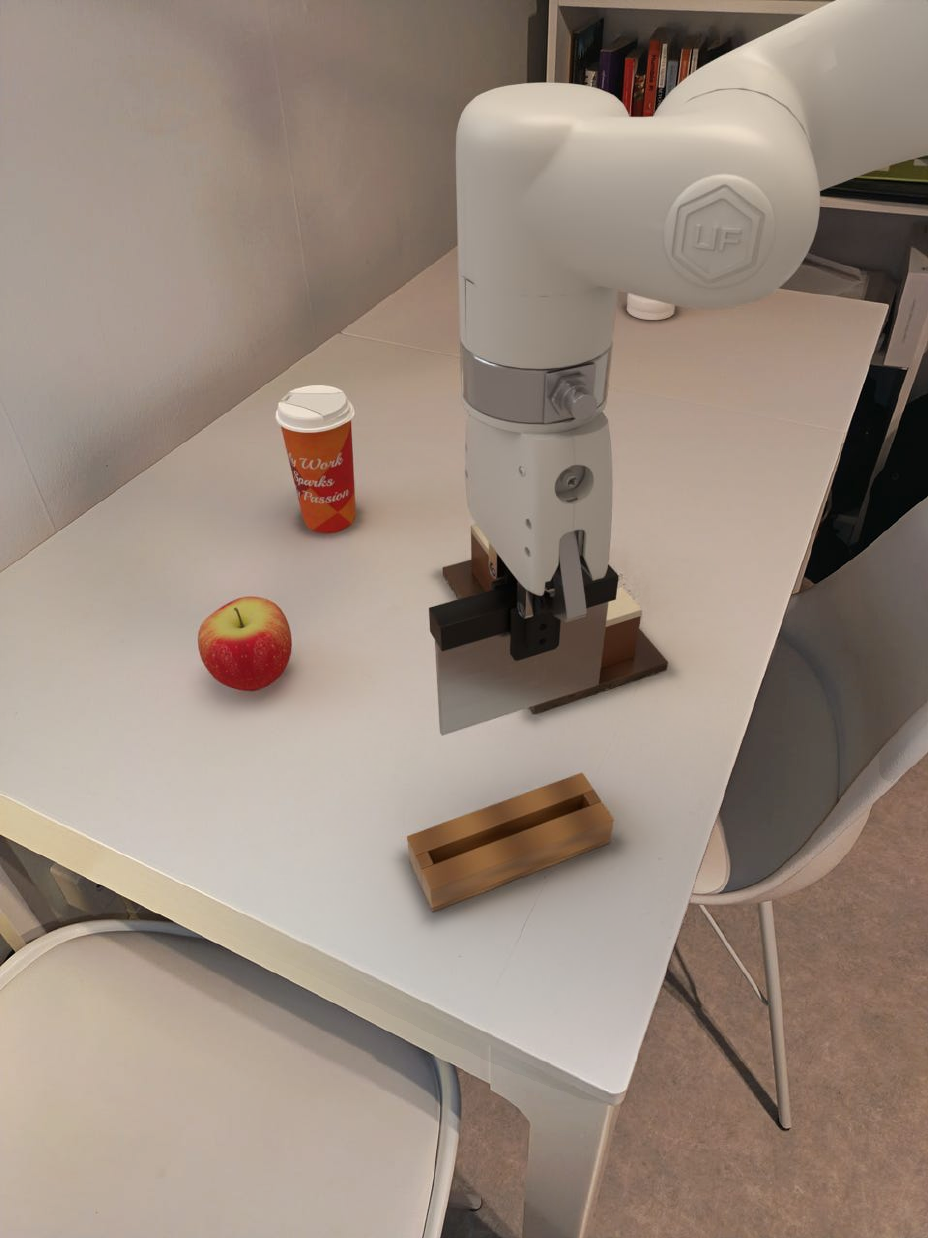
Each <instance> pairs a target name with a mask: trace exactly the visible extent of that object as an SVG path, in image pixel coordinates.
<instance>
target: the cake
mask: <svg viewBox="0 0 928 1238" xmlns="http://www.w3.org/2000/svg"><path fill="white" fill-rule="evenodd" d="M470 554H471V555H470V556H471V557H470V559H468V560H463V561H461V562H457V563H453V564H450V565H446V566H443V567H442V568H441V569H442V576H444V578H445V580H446V581H447V583H448V585H449V586H450V587H451V589H452V591H453V592H454V594H455V595H456V597H457V599H461V598H465V597H468V596H472V595H475V594H479V593H482V592H486V591H489V590H492V582H493V581H496V580H499V578H496V579H494V578H493V577H492V575H491V573H490V570H489V541H488V540H487V539H486V537H485V536H484V535H483V533H482V532H481V530H480V529H479V527H478V526H477V524H476V523H474V524H471V525H470ZM668 665H669V662H668V659H666V657H664V655H663V654H662V653H661V652H660V651H659V650H658V648H657V647H656V646H655V645H654V644H653V642H652V641H651V640H650V639H649V638H648V636H646V634H644V632H643V631H642V630H641V628H639V633H638V639H637V646H636V652H635V657H634V658H631V659H628V660H625V661H621V662H618V663H615V664H612V665H609V666H606V667H603V668H601V670H600V678H599V684H598V685H595V686H592V687H589V688H586V689H583V690H580V691H577V692H574V693H571V694H568V695H565V696H562V697H559V698H556V699H553V700H550V701H547V702H543V703H540V704H537V705H534V706H531V707H529V709H530V710H531V712H532V713H533V714H538V713H541V712H544V711H547V710H551V709H553V708H556V707H559V706H561V705H564V704H568V703H571V702H573V701H577V700H580V699H583V698H586V697H588V696H592V695H594V694H598V693H600V692H601V693H602V692H604V691H606V690H610V689H613V688H615V687H618V686H621V685H624V684H627V683H630V682H633V681H636V680H639V679H642V678H645V677H647V676H651V675H654V674H657V673H660V672H664V671H667V670H668Z"/></svg>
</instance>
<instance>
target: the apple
mask: <svg viewBox="0 0 928 1238" xmlns="http://www.w3.org/2000/svg"><path fill="white" fill-rule="evenodd" d="M292 639H293V638H292V631H291V627H290V623H289V621H288V619H287V616H286V615H285V613H284V612H283V610H282V609H281V607H279V605H278V604H277V603H275V602H273V601H272V600H269V599H267V598H264V597H259V596H241V597H238V598H236V599H233V600H231V601H229V602H226V604H224V605H222V606H221V607H219V608H217V609H215V611H213V612H212V613H211V614H210V615H209V616H208V617H206V618H205V619H204V620H203V621H202V623H201V625H200V627H199V630H198V635H197V647H198V652H199V655H200V659H201V661H202V663H203V666H204V667H205V669H206V670H207V672H208V674H210V675H211V677H213V678H214V679H215V680H216V681H217V682H219V684H220V683H221V684H222V685H223V686H225V687H227V688H230V689H233V690H236V691H241V692H255V691H259V690H261V689H262V690H263V689H265V688H266V687H268V686H270V685H271V684H273V683H274V682H276V681H277V680H278V679H280V677H281V676H282V675H283V674H284V672H285V671H286V669H287V667H288V665H289V662H290V659H291V655H292V647H293V646H292V645H293V641H292Z"/></svg>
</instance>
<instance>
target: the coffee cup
mask: <svg viewBox="0 0 928 1238" xmlns="http://www.w3.org/2000/svg"><path fill="white" fill-rule="evenodd" d="M355 413H356V411H355V409H354V406H353V404H352V403H351V401H349V399H348V397H347V396H346V394H345V392H344V391H343V390H341V389H340V388H337V387H335V386H332V385H323V384H312V385H305V386H300V387H298V388H294V389H291V390H290V391H288V392H287V394H285V395H284V396H283V397H282V398H281V399H280V401H279V402H278V405H277V409H276V412H275V421H276V422H277V423H278V425H279V426H280V428H281V432H282V437H283V441H284V445H285V450H286V453H287V459H288V462H289V467H290V471H291V475H292V478H293V483H294V487H295V492H296V495H297V500H298V504H299V507H300V511H301V517H302V520H303V522H304V524H305V526H306V527H307V528H308V529H309V530H311V531H312V532H316V533H321V534H334V533H337V532H340V531H344V530H346V529H347V528H349V527H350V526H351V525H352V524H353V523H354V522H355V520H356V493H355V492H356V489H355V468H354V451H353V433H352V432H353V429H352V419H353V418H354V416H355Z"/></svg>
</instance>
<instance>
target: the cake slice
mask: <svg viewBox="0 0 928 1238" xmlns="http://www.w3.org/2000/svg"><path fill="white" fill-rule="evenodd" d="M642 613H643V608H642V607H641V606H640V605H639V604H638V603H637V602H636V600H635V599H634V598H633V597H632V596H631V595H630V594H629V593H628V592H627V590H626V589H625V587H623V586H620V587H617V594H616V600H613V601H610V602H609V603H608V611H607V619H606V628H605V636H604V645H603V653H602V661H601V668H603V667H606V666H609V665H612V664H615V663H618V662H621V661H625V660H628V659H631V658H634V657H635V652H636V646H637V639H638V633H639V629H640V625H641V620H642V619H641V618H642Z"/></svg>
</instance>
